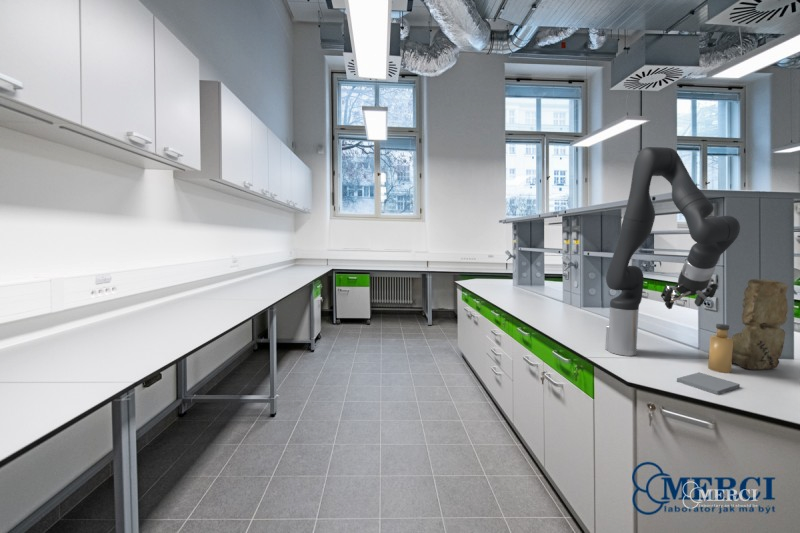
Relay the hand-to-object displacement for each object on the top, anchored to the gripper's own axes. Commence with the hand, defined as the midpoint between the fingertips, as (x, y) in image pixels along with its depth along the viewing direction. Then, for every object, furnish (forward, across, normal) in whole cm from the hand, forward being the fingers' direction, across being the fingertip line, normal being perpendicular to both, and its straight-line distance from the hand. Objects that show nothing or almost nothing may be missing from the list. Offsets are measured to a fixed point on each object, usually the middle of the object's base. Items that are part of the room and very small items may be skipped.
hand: (682, 305), depth 120 cm
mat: (+5, +4, +26) cm, 27 cm away
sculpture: (+21, -20, +13) cm, 31 cm away
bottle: (+15, -7, +16) cm, 23 cm away
